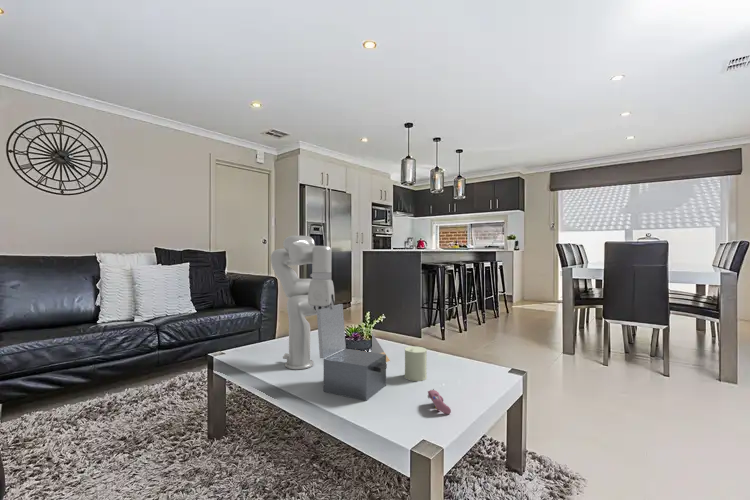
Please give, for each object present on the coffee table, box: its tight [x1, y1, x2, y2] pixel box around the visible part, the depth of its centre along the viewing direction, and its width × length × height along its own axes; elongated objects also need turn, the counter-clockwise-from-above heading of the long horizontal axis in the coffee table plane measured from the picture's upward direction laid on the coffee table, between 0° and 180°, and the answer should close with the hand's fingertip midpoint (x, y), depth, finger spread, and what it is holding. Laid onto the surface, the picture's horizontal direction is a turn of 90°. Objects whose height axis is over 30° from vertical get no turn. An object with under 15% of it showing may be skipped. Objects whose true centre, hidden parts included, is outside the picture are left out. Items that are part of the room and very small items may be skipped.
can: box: [403, 345, 428, 382], centre depth 149 cm, size 9×9×12 cm
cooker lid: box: [316, 303, 347, 359], centre depth 141 cm, size 18×16×3 cm
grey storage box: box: [322, 348, 388, 402], centre depth 136 cm, size 21×16×12 cm
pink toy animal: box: [427, 388, 452, 415], centre depth 119 cm, size 10×5×7 cm, turn 6°
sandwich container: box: [372, 332, 391, 363], centre depth 173 cm, size 9×15×15 cm, turn 48°
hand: (321, 323), depth 143 cm, fingers closed
